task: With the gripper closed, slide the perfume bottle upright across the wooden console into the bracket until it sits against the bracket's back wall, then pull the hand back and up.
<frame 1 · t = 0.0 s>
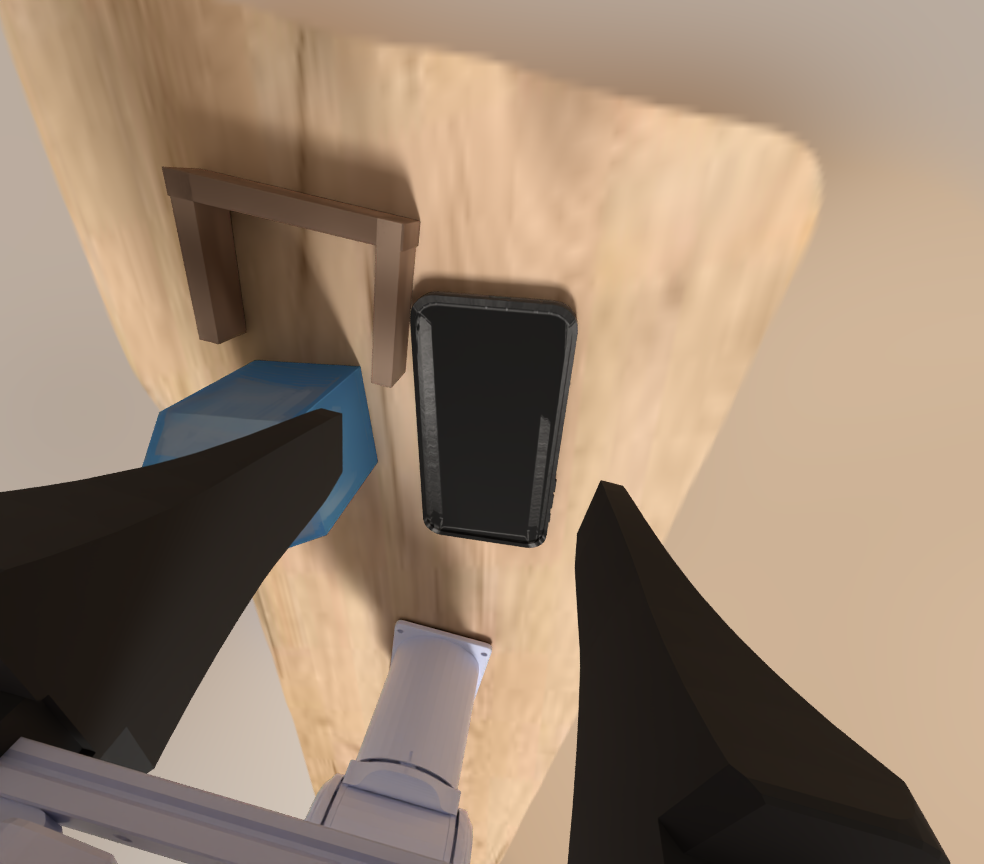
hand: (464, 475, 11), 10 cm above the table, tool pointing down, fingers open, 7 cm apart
bracket: (313, 292, 20), on the table
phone: (491, 430, 23), on the table
perfume bottle: (321, 411, 24), on the table
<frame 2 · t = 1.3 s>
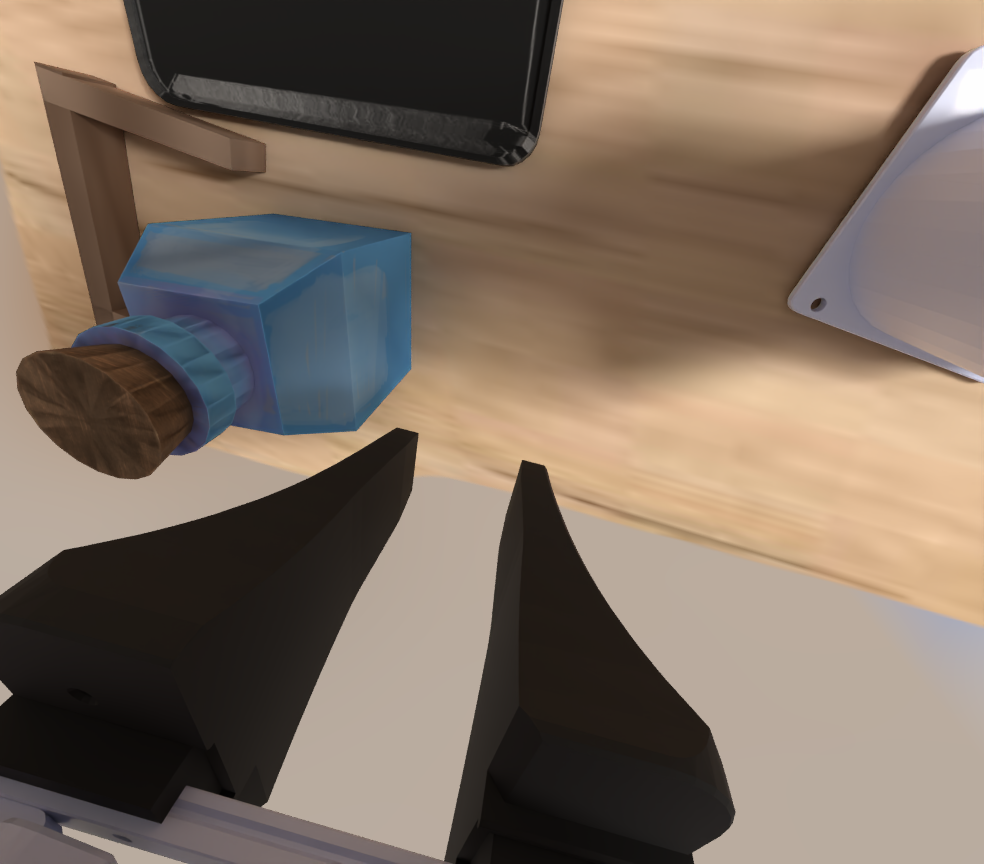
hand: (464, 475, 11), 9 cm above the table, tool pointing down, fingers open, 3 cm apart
bracket: (203, 244, 19), on the table
perfume bottle: (349, 295, 19), on the table
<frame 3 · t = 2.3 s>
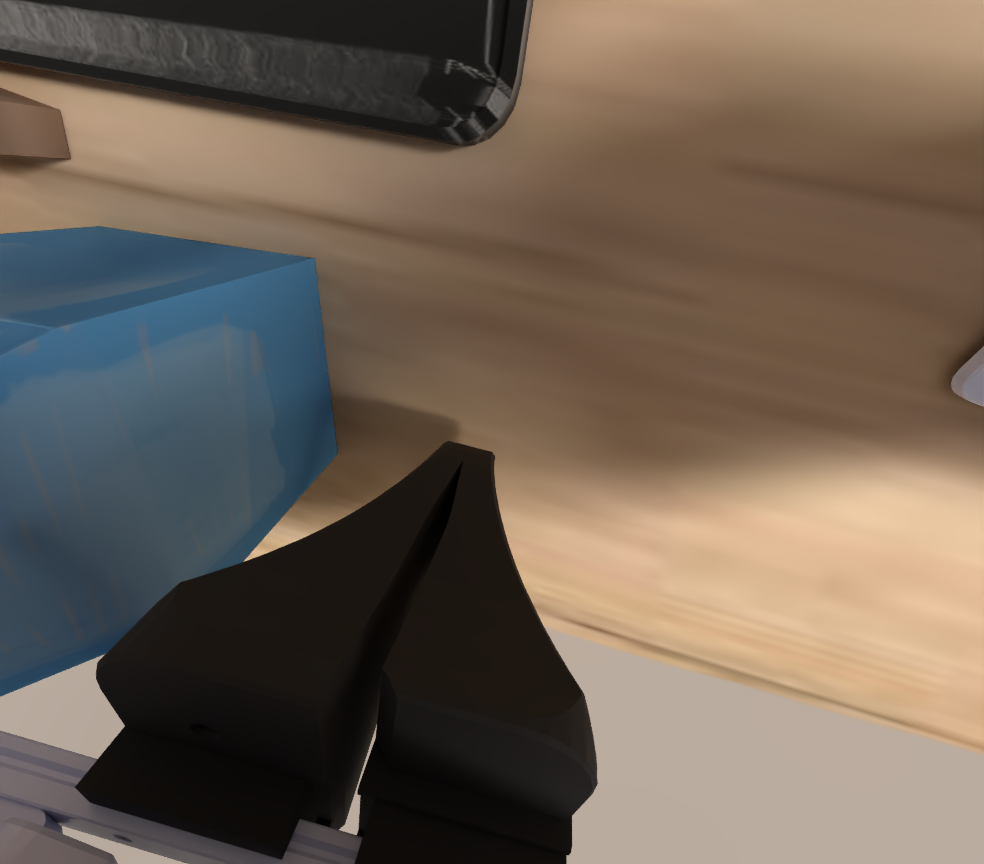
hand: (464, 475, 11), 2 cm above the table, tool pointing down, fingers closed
bracket: (7, 272, 12), on the table
perfume bottle: (236, 350, 12), on the table
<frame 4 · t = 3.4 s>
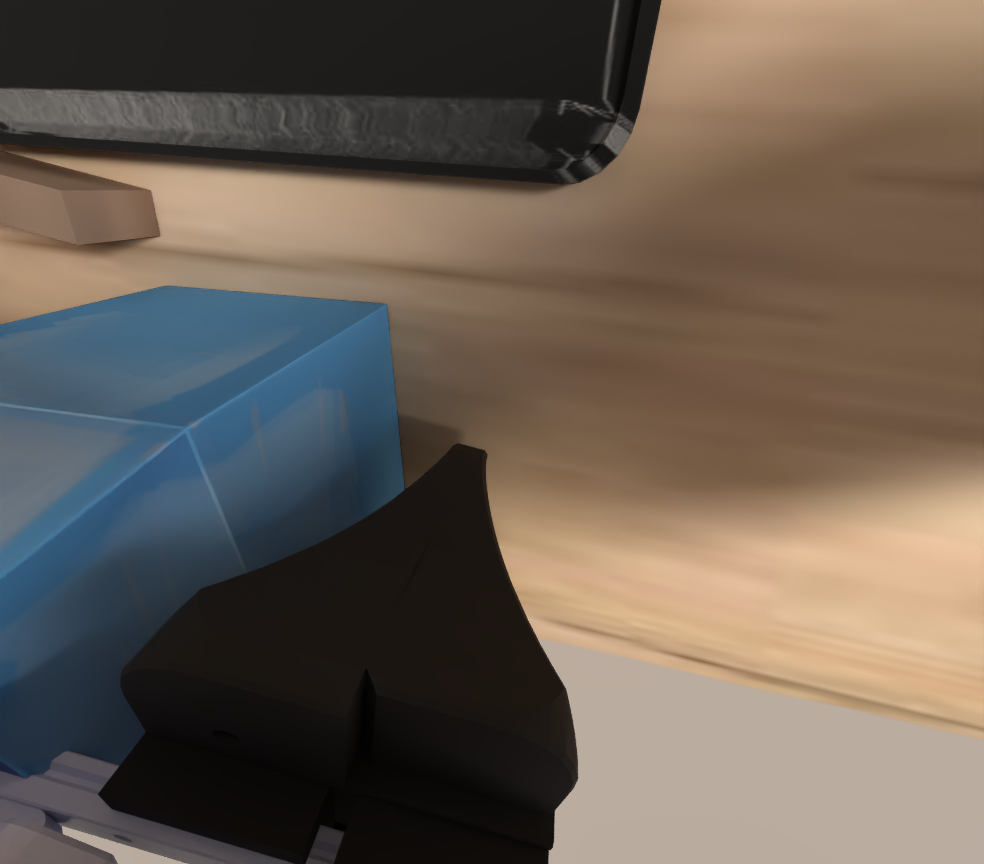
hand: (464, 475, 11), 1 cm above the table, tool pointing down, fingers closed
bracket: (96, 349, 12), on the table
perfume bottle: (301, 398, 12), on the table, touching gripper
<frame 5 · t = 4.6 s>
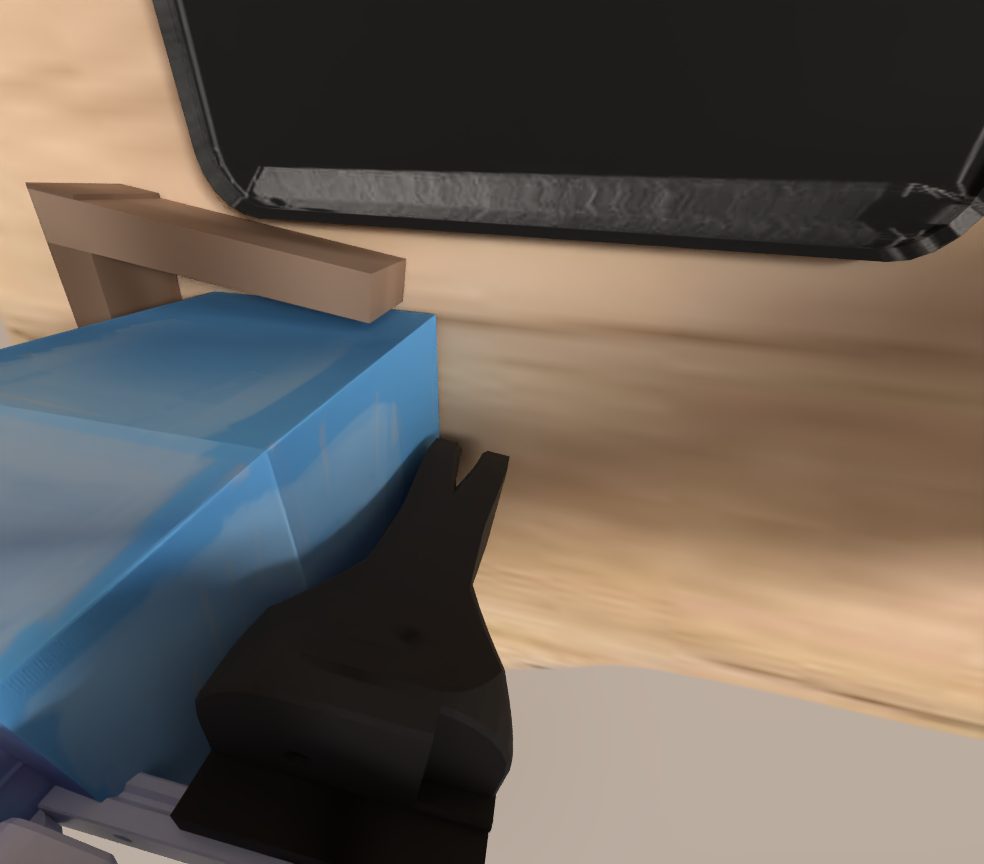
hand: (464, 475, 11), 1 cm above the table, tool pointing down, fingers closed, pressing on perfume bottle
bracket: (298, 405, 12), on the table
perfume bottle: (342, 405, 12), on the table, touching gripper
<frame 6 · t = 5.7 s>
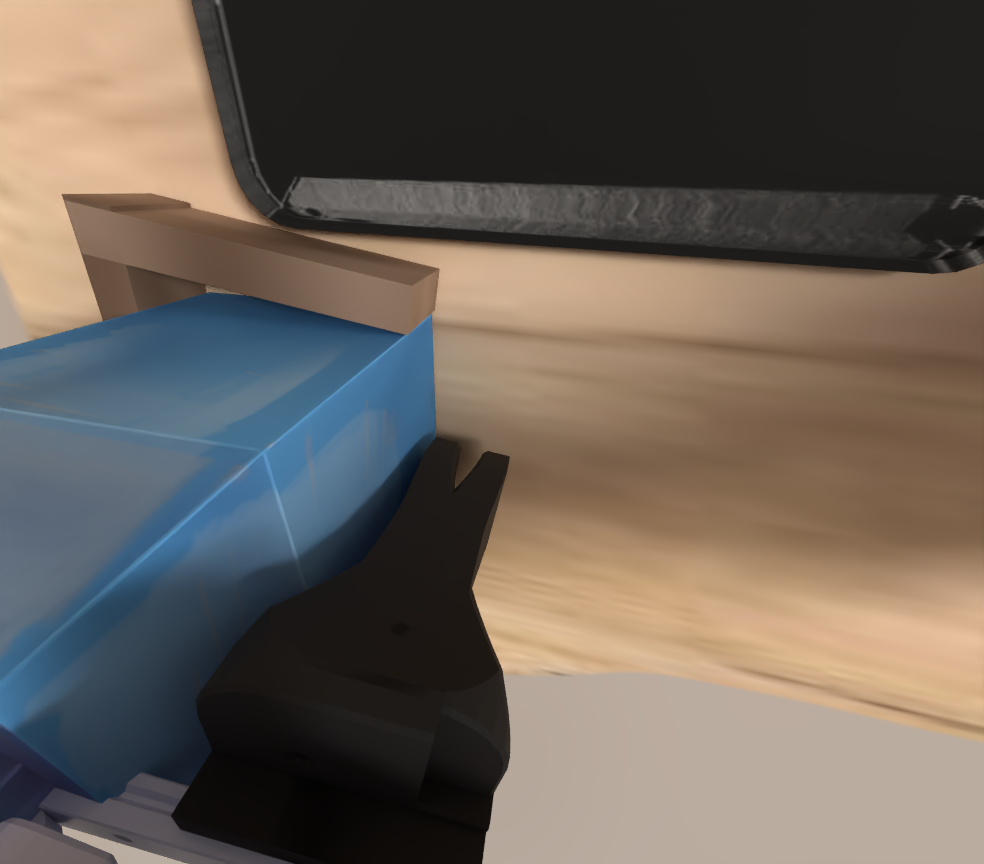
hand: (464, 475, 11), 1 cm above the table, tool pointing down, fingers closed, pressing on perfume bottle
bracket: (323, 413, 12), on the table
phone: (620, 0, 7), on the table
perfume bottle: (339, 405, 12), on the table, touching gripper
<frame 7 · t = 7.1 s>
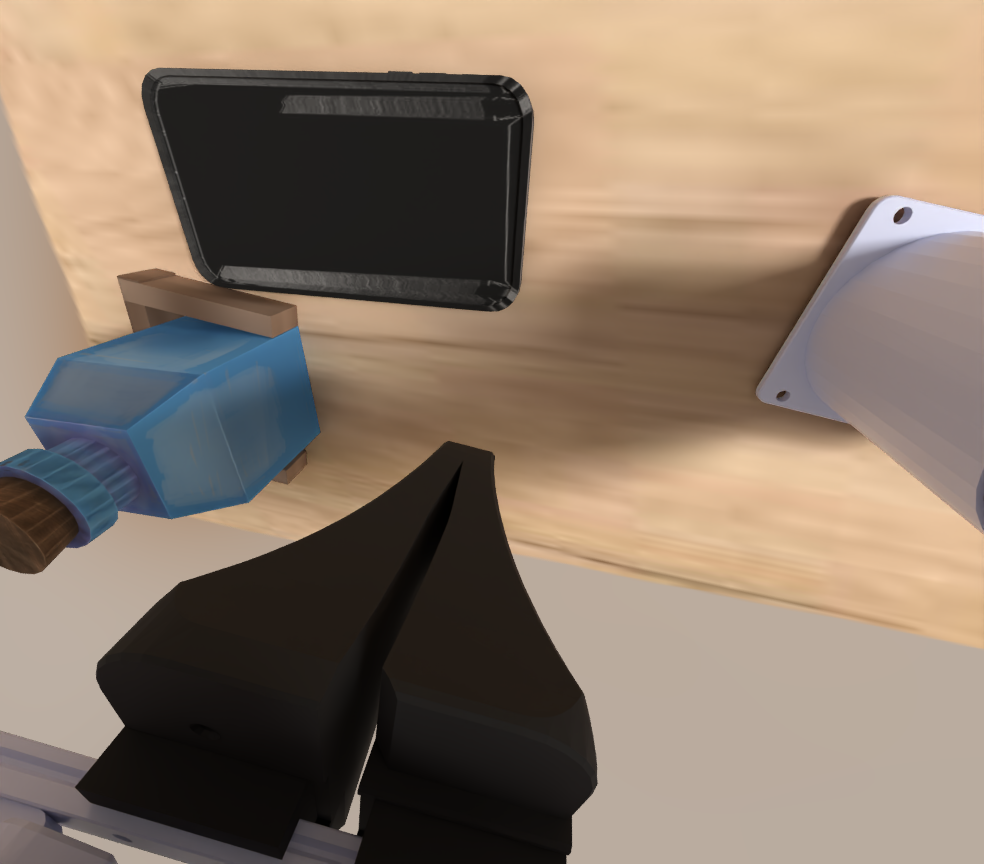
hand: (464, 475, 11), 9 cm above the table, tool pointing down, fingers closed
bracket: (250, 380, 22), on the table
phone: (353, 197, 17), on the table
perfume bottle: (259, 375, 22), on the table
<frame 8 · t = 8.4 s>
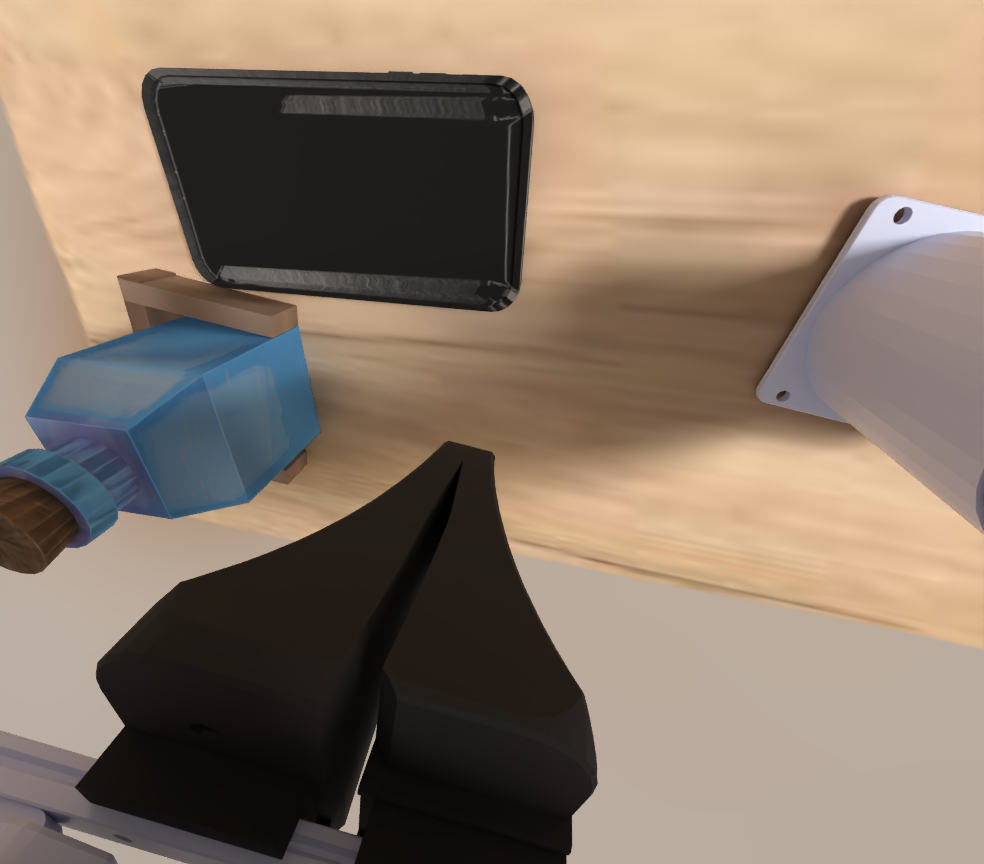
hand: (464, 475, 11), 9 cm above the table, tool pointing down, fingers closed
bracket: (250, 380, 22), on the table
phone: (353, 197, 17), on the table
perfume bottle: (259, 375, 22), on the table
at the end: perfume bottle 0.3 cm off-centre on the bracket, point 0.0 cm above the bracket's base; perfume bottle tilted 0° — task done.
